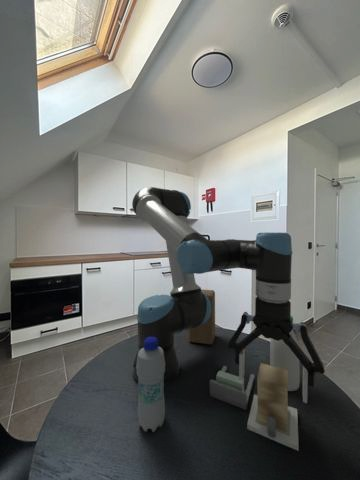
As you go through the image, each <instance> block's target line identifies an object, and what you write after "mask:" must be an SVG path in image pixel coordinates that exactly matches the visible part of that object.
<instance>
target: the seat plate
mask: <svg viewBox="0 0 360 480" xmlns="http://www.w3.org/2000/svg"><path fill="white" fill-rule="evenodd" d="M252 399H253V400H252V402H251V407H250V411H249V415H248V419H247V424H246V426H247V427H246V429H247V430H249V431H251V432H253V433H255V434H257V435H261V436H263V437H265V438H267V439H269V440H272V441H274V442H275V443H276V442H277V443H279V444H282V445H283V446H285V447H288V448H291V449H293V450H295V451H298V452H299V423H298V419H299V418H298V409H297V408H295V407H293V406H289V405H288V420H287V432H285V431H282V430H280V429H277V428H276V419H275V417H274V416H273V415H268V416H267V424H265V423H262V422H260V421H258V397H257V394H253V397H252Z"/></svg>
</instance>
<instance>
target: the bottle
mask: <svg viewBox="0 0 360 480" xmlns="http://www.w3.org/2000/svg"><path fill="white" fill-rule="evenodd" d="M136 369H137V376H138V382H137V384H138V385H137V386H138V387H137V389H138V391H137V392H138V393H137V395H138V401H137V421H138V425H139V426H140V427H141V428H142V430H143V432H146V433H147V432H148V431H149V429H150V430H151V431H152V433H154V432H156V430H157V429H158V428H161V427H162V426H163V424H164V421H165V415H166V406H165V405H166V404H165V388H164V387H165V385H164V372H165V359H164V352H163V349H162V348H160V347H158V339H157V338H156V337H148V338H146V339H145V340H144V348H142V349H141V350H140V351H139V352H138V358H137V366H136Z"/></svg>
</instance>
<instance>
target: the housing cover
mask: <svg viewBox="0 0 360 480" xmlns="http://www.w3.org/2000/svg"><path fill="white" fill-rule="evenodd" d="M215 381H218V382H220V383H223V384H226V385H229V386H232V387H235V388H238V389H241V390H244V391H245V378H244V377H243V380H242V381H241V380H239V375H235V374H231V373H228V372H227V371H226V372H223V371H221V370H218V372H217V374H216V377H215Z"/></svg>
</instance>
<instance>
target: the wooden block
mask: <svg viewBox="0 0 360 480" xmlns="http://www.w3.org/2000/svg"><path fill="white" fill-rule="evenodd" d="M201 292H203V293H205V294H206V295H207V297H208V298H209V300H210V303H211V314H210V317H209V319H208V321H207V322H206V323H205V324H202V325H200V326H199V327H196V328H192V329H189V330H188V341H189V342H190V343H197V344H203V345H213V343H214V340H215V335H216V292H215V290H213V289H201Z"/></svg>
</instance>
